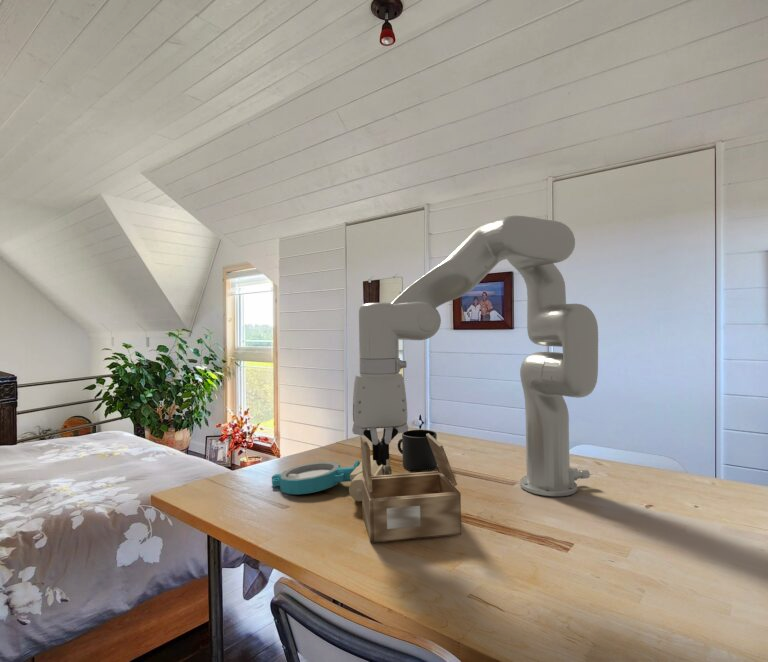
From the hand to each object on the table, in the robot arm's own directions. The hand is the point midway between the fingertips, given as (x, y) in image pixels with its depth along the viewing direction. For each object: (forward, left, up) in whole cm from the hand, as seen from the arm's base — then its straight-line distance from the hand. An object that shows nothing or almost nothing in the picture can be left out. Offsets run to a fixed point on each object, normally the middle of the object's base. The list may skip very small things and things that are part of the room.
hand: (380, 463), depth 88 cm
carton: (-5, 0, -12) cm, 13 cm away
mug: (-15, -37, -13) cm, 42 cm away
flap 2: (-13, 0, -4) cm, 14 cm away
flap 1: (+3, 0, -4) cm, 5 cm away
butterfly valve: (+9, -25, -13) cm, 29 cm away
